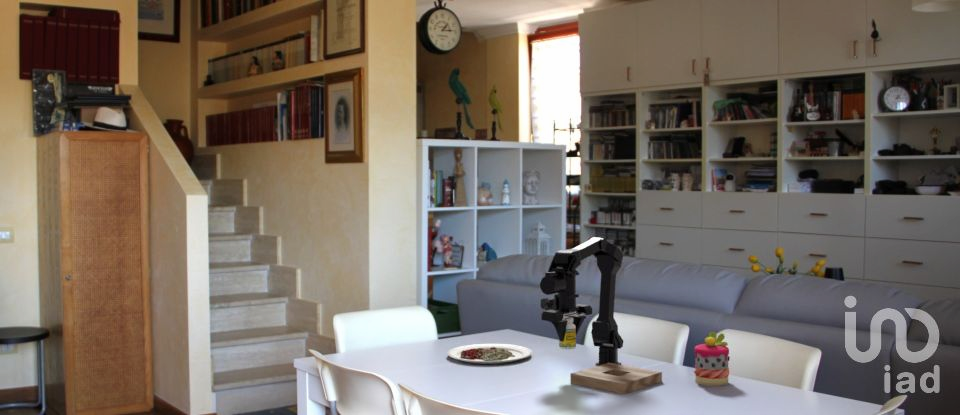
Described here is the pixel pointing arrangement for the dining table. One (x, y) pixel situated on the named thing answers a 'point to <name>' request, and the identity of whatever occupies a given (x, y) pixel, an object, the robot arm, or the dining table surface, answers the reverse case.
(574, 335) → the supplement bottle
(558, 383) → the dining table surface
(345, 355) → the dining table surface
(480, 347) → the plated food
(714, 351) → the cake
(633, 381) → the socket block
